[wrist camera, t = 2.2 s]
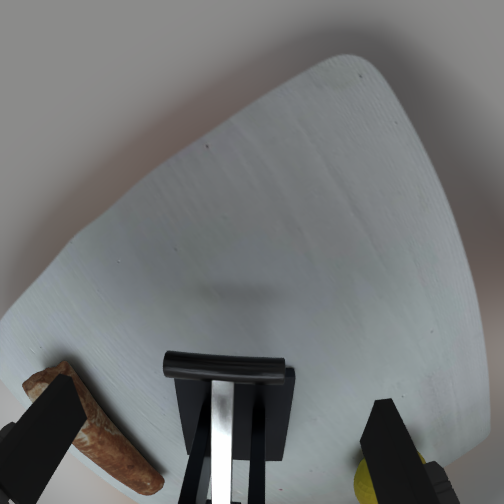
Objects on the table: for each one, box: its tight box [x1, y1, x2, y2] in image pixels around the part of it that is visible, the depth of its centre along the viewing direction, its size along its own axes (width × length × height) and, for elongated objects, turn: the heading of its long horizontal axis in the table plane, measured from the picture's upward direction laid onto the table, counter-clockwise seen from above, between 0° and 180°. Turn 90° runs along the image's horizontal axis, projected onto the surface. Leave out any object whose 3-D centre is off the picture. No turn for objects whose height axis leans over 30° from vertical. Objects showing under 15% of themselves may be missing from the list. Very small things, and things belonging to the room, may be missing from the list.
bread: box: [22, 361, 165, 495], centre depth 22 cm, size 6×19×6 cm, turn 21°
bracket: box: [174, 368, 295, 504], centre depth 17 cm, size 11×9×13 cm
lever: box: [163, 351, 285, 504], centre depth 13 cm, size 13×6×2 cm, turn 178°
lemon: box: [354, 451, 426, 504], centre depth 21 cm, size 11×8×8 cm
